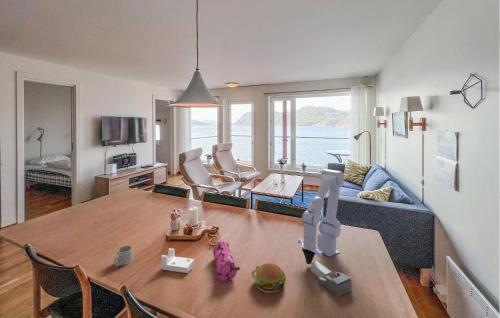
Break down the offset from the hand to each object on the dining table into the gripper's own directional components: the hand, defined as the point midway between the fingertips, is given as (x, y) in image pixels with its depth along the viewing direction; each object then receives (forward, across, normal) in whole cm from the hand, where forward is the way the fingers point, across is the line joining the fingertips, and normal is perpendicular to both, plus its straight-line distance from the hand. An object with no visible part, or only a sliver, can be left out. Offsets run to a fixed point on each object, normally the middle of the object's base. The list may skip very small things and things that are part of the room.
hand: (308, 263), depth 111 cm
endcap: (+1, +17, 0) cm, 17 cm away
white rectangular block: (+2, +8, 0) cm, 8 cm away
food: (+2, +2, -24) cm, 24 cm away
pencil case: (+2, -17, -36) cm, 40 cm away
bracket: (+2, -27, -56) cm, 62 cm away
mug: (+2, -44, -79) cm, 90 cm away
